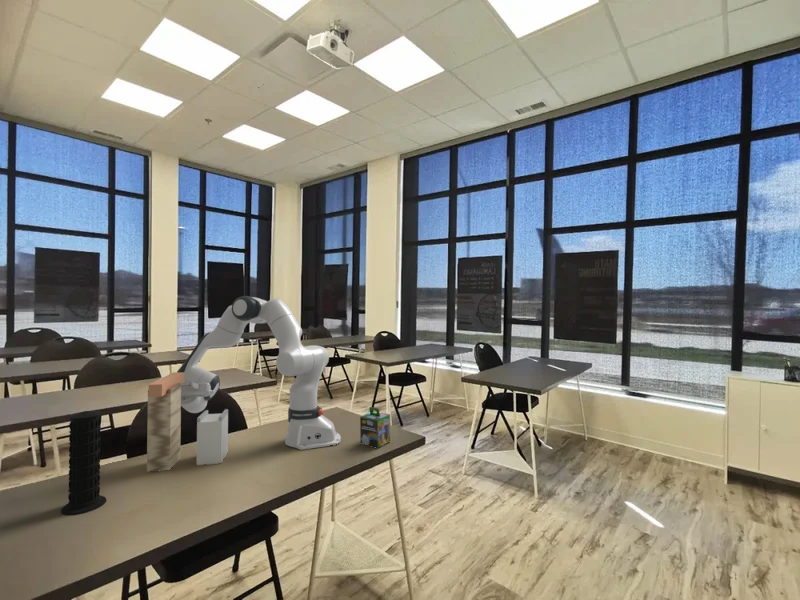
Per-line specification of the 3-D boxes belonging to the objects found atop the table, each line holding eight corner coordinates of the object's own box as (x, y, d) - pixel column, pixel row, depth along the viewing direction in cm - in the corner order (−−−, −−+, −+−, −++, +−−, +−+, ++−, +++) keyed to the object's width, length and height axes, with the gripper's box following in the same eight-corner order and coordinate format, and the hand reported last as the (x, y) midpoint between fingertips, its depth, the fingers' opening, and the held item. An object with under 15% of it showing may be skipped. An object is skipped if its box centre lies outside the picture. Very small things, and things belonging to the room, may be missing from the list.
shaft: (184, 382, 149) (184, 372, 149) (161, 396, 128) (162, 384, 128) (173, 382, 148) (173, 372, 148) (148, 396, 127) (148, 384, 127)
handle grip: (50, 514, 104) (87, 515, 104) (51, 416, 104) (88, 416, 104) (81, 496, 114) (115, 496, 114) (82, 405, 114) (116, 406, 114)
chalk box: (390, 442, 160) (391, 406, 160) (377, 449, 153) (378, 411, 153) (372, 437, 165) (373, 402, 165) (359, 444, 158) (359, 407, 158)
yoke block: (227, 452, 147) (228, 409, 147) (221, 463, 138) (221, 416, 138) (204, 454, 146) (205, 410, 146) (196, 465, 136) (197, 418, 136)
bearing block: (180, 458, 141) (181, 383, 141) (169, 470, 131) (170, 389, 132) (158, 460, 140) (159, 383, 140) (146, 472, 130) (147, 390, 130)
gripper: (213, 401, 161) (205, 390, 149) (159, 404, 157) (146, 393, 145) (215, 386, 164) (207, 375, 152) (162, 388, 160) (149, 377, 148)
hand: (177, 384), depth 149 cm, fingers open, 8 cm apart
